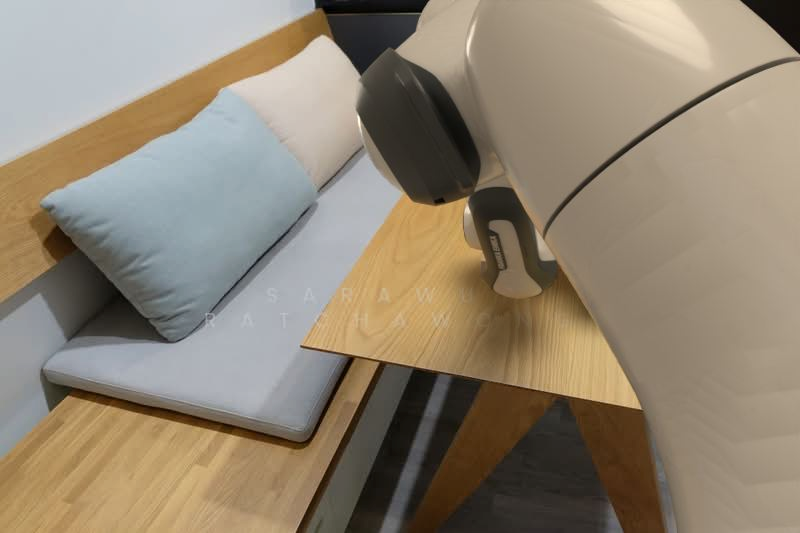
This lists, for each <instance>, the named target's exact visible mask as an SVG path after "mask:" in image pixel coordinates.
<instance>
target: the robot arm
mask: <svg viewBox="0 0 800 533" xmlns="http://www.w3.org/2000/svg"><path fill="white" fill-rule="evenodd" d="M353 108H354V109H355V111H356V113H357V114H356V115H357V116H356V117H357V125H358V129H359V130H358V131H359V135H360V140H361V142H362V145H363V148H364V150H365V152H366V154H367V156H368V158H369V160H370V161H371V164H372V165H373V166H374V168H375V169H376V170H377V171H378V173H379V174H380V175H381V176H382V178H384V180H386V181H387V183H389V184H390V185H391V186H393V187H394V188H395V189H397V190H398V191H399V192H401V193H403V194H405V195H406V196H407V197H408V198H409V199H410V201H411V202H413V203H416V204H421V205H424V206H425V205H426V206H431V207H439V206H440V207H441V206H443V205H446V204H450V203H454V202H457V201H460V200H464V199H465V200H466V204H465V206H464V209H463V213H462V229H463V237H464V240H465V242H466V244H467V245H468V247H469V248H470V249H473V250H476V251H477V250H478V251H481V260H480V266H479V278H480V279H481V280H482V282H483V283H484V284H485V285H486V286H487V288H488V289H489V290H491V291H492V292H493V293H495V294H496V295H499V296H501V297H505V298H509V299H511V298H512V299H531V298H535V297H539V296H541V295H543V294H544V293H546V292H547V290H548V289H550V288H551V286H552V285H553V284H554V283H556V281H558V280H557V279H559V268H558V266H559V267H560V269H562V272H563V273H564V275H565V276H566V278H567V279H568V281H569V282H570V284H571V286H572V287H573V289H574V290H575V292H576V295H577V296H578V297H579V299H580V300H581V302H582V304H583V306H584V307H585V309H586V311H587V313H588V314H589V315H590V317H591V318H592V320H593V322H594V324H595V325H596V327H597V329H598V331H599V332H600V335H601V336H602V337H603V339H604V341H605V342H606V344H607V347H609V349H610V351H611V353H612V355H613V357H614V359H615V360H616V362H617V363H618V366H619V367H620V369H621V371H622V373H623V374H624V376H625V378H626V379H627V381H628V383H629V385H630V387H631V388H632V390H633V392H634V394H635V396H636V399H637V401H638V403H639V405H640V408H641V410H642V412H643V414H644V417H645V419H646V421H647V423H648V426H649V428H650V431H651V435H652V437H653V440H654V443H655V446H656V449H657V452H658V454H659V457H660V461H661V465H662V468H663V473H664V477H665V480H666V483H667V484H666V485H667V487H668V491H669V497H670V502H671V506H672V507H671V508H672V511H673V516H674V523H675V528H676V533H800V54H799V52H797V50H795V49H794V48H793V47H792V45H790V44H789V43H788V42H787V41H786V39H784V38H783V37H782V36H781V35H780V34H779V33H778V32H777V31H776V30H775V29H774V28H772V26H770V25H769V23H767V22H766V21H765V20H764V19H762V17H760V16H759V15H758V14H757V13H755V12H754V11H753V10H752V9H750V7H748V6H747V5H746V4H745V3H743V1H741V0H428V2H427V3H426V5H425V6H424V7H423V9H422V12H421V13H420V16H419V18H418V21H417V24H416V28H415V32H413V33H412V34H411V35H410V36H409V37H408V38H407V39H406V40H405V41H404V42H402V43H401V44H400V45H399V46H398V47H397V48H396V49H393V48H392V47H388V48H387V49H386V50H384V52H382V53H381V54H380V55H379V56H378V57H377V58H376V59H375V60H374V61H373V62H372V63H371V64H370V65H369V66H368V68H366V70H365V71H364V72H363V73H362V74H361V76H360V77H359V79H358V80H357V84H356V90H355V94H354V99H353Z"/></svg>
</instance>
